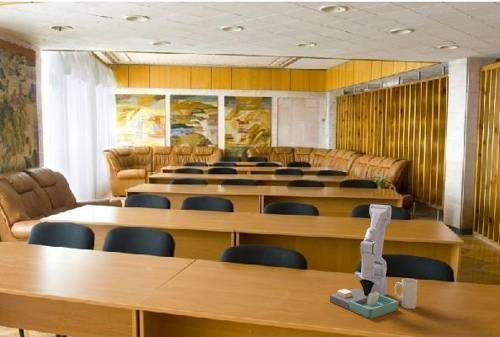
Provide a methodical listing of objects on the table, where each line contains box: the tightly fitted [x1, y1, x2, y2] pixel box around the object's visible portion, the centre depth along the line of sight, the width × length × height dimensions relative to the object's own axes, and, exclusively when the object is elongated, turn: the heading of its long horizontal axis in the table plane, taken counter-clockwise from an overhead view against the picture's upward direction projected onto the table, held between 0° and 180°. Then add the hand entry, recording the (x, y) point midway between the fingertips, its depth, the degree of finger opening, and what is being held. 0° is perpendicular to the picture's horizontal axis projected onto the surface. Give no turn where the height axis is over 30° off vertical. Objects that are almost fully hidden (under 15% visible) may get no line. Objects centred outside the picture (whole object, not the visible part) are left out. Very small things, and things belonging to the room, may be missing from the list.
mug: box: [393, 277, 418, 310], centre depth 216 cm, size 10×7×12 cm, turn 71°
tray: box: [348, 295, 399, 320], centre depth 212 cm, size 18×12×4 cm
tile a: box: [367, 292, 380, 306], centre depth 216 cm, size 5×5×2 cm
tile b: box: [336, 288, 352, 298], centre depth 221 cm, size 5×5×2 cm
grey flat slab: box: [329, 287, 368, 311], centre depth 222 cm, size 18×12×3 cm, turn 124°
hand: (367, 295), depth 219 cm, fingers closed
